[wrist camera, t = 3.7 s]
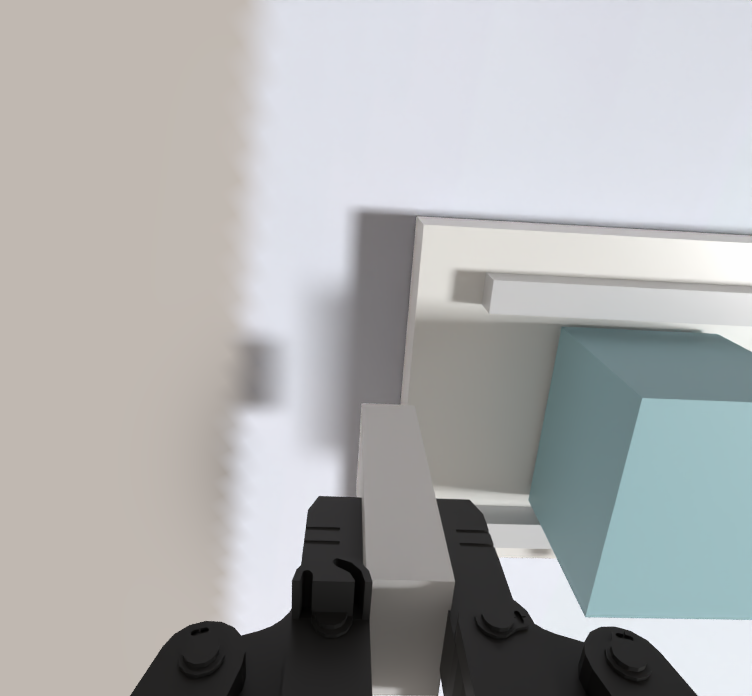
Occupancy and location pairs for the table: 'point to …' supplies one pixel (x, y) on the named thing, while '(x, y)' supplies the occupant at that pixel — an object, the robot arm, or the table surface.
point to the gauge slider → (649, 473)
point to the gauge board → (540, 337)
